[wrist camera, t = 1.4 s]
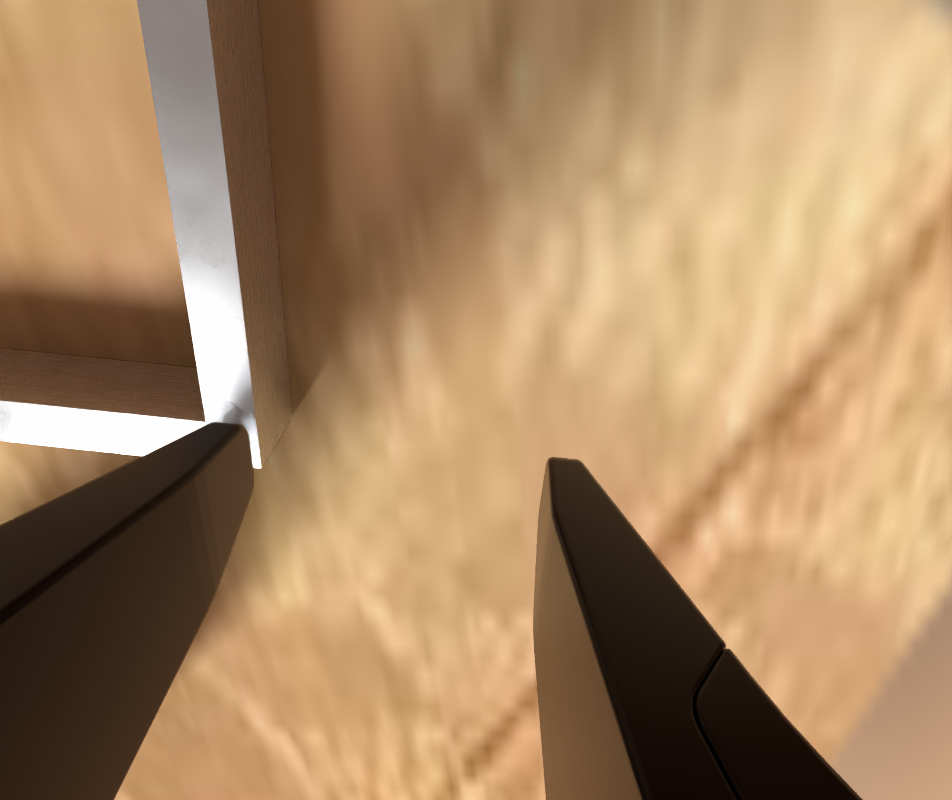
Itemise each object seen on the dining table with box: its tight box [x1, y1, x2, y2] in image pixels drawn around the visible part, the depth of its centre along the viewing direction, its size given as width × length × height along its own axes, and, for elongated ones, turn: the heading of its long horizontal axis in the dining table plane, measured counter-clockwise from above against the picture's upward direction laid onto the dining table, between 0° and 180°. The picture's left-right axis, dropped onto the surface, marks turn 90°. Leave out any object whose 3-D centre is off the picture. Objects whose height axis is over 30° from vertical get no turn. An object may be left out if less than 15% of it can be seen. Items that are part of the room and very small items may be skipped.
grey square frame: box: [0, 0, 292, 469], centre depth 18 cm, size 14×15×3 cm
